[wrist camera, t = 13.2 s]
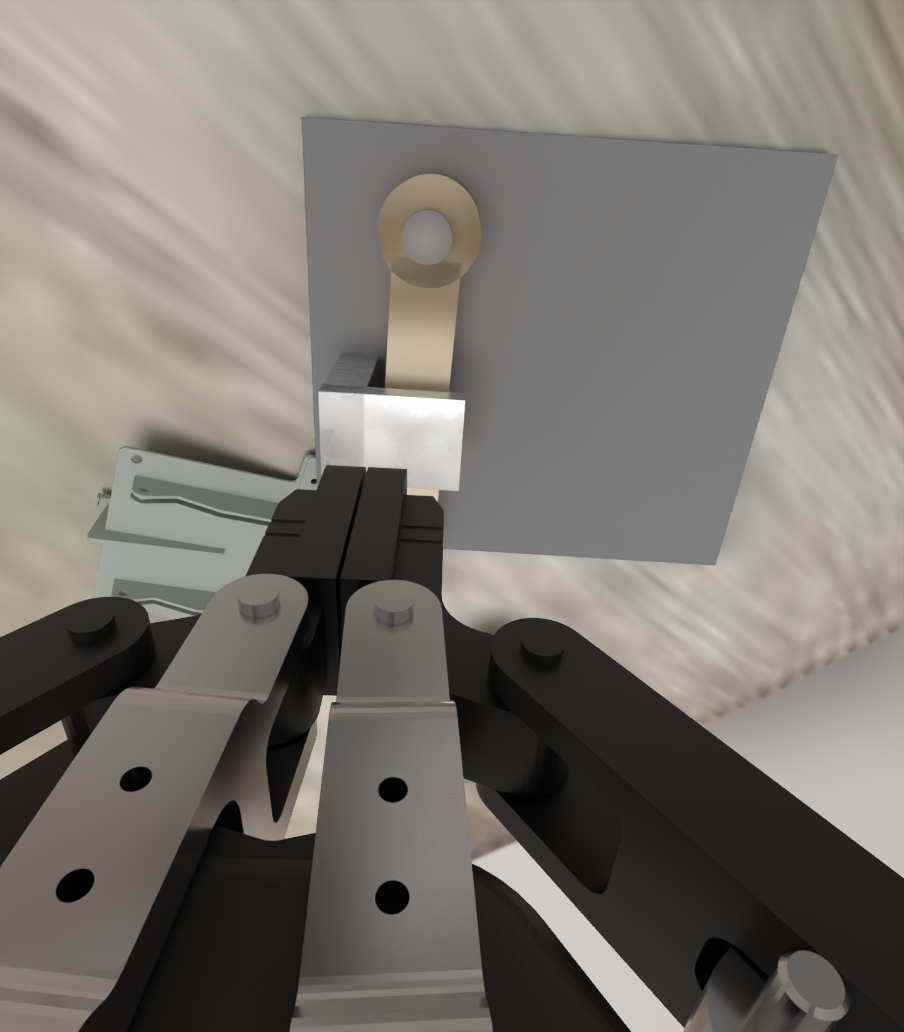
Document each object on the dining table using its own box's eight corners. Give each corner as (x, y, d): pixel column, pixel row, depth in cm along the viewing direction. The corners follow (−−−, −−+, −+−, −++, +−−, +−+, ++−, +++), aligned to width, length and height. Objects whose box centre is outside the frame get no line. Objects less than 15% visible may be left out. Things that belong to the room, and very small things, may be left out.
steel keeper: (340, 353, 35) (318, 391, 30) (465, 361, 35) (465, 400, 30) (342, 434, 37) (321, 482, 32) (459, 441, 37) (458, 491, 32)
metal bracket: (65, 648, 39) (101, 425, 32) (84, 584, 44) (119, 376, 37) (306, 671, 45) (380, 486, 38) (301, 613, 50) (366, 438, 43)
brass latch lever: (388, 167, 30) (378, 170, 27) (485, 177, 31) (487, 182, 27) (371, 531, 40) (362, 566, 37) (445, 538, 40) (443, 573, 37)
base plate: (306, 117, 31) (270, 112, 25) (827, 154, 31) (908, 157, 25) (322, 532, 41) (299, 595, 36) (709, 556, 42) (748, 621, 36)
